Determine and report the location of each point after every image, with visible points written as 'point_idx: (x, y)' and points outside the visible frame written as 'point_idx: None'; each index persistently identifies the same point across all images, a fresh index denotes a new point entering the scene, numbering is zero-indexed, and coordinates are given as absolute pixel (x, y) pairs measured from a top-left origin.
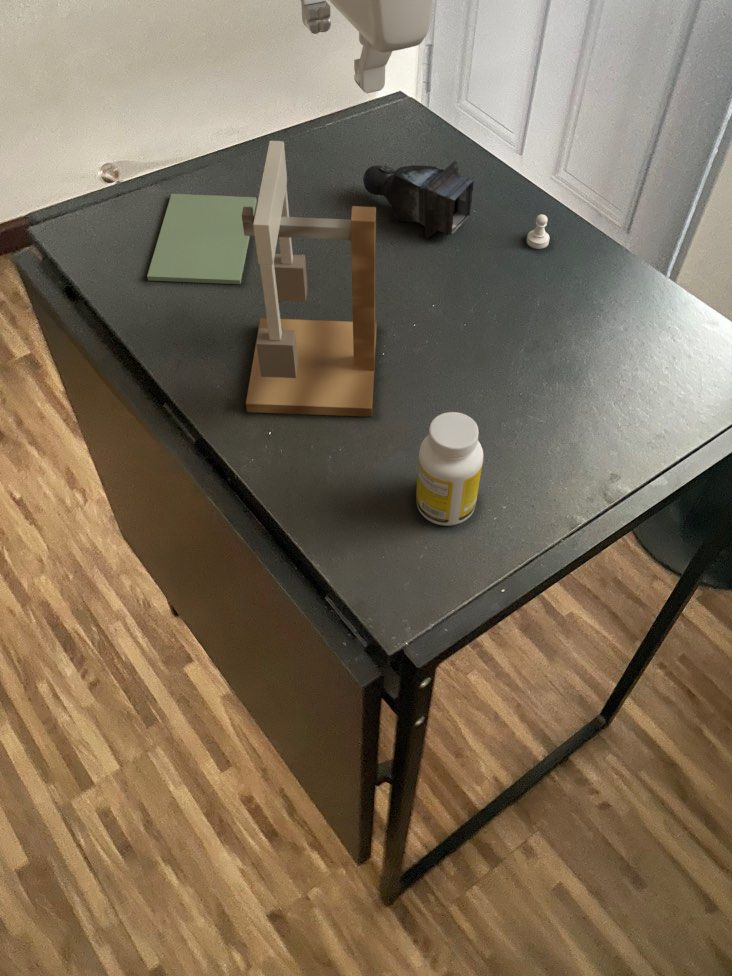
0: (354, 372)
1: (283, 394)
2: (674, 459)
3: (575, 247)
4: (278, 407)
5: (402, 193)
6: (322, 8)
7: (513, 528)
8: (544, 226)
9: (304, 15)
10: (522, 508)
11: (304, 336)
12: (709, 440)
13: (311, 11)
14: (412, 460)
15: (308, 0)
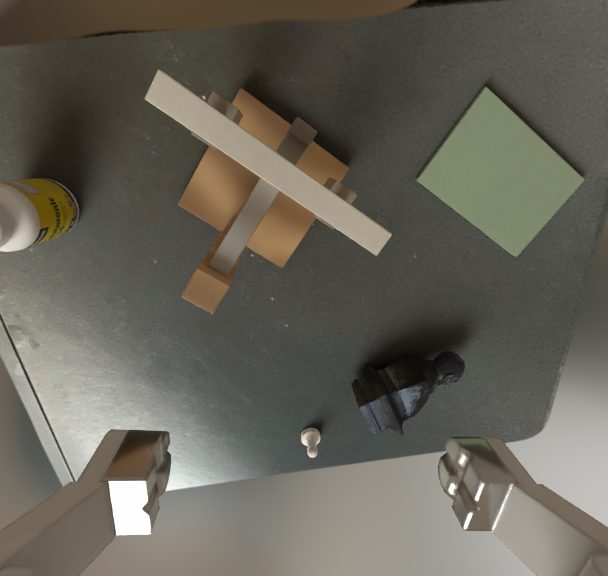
0: (230, 214)
1: None
2: (37, 391)
3: (289, 454)
4: None
5: (409, 374)
6: (469, 511)
7: None
8: (307, 449)
9: (499, 458)
10: (25, 262)
11: None
12: (48, 422)
13: (478, 484)
14: (113, 207)
15: (519, 502)
